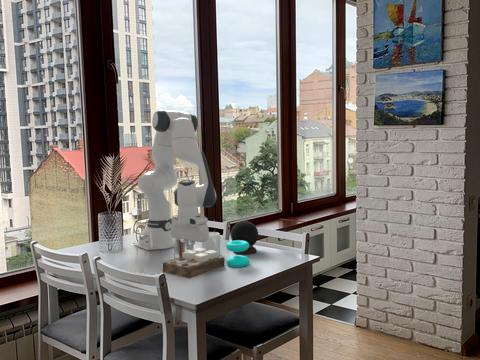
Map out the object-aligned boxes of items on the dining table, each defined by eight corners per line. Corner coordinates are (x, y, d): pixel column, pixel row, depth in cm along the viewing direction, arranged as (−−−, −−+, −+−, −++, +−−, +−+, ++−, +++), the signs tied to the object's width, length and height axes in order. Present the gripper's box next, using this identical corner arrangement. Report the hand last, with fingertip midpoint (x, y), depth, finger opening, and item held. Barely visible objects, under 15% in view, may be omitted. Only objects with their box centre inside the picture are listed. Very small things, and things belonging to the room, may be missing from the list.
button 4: (203, 261, 217) (203, 252, 216) (211, 258, 220) (210, 249, 219) (211, 262, 214) (211, 253, 213) (218, 260, 217) (218, 251, 217)
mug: (225, 258, 229) (224, 236, 228) (207, 260, 227) (207, 238, 226) (217, 252, 241) (216, 231, 240) (200, 254, 238) (199, 233, 237)
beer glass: (181, 261, 227) (180, 228, 225) (169, 259, 231) (168, 227, 229) (191, 257, 233) (189, 225, 231) (179, 255, 237) (178, 224, 235)
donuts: (253, 242, 216) (235, 246, 210) (254, 264, 217) (236, 269, 211) (239, 238, 224) (221, 242, 218) (240, 260, 225) (222, 264, 219)
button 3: (192, 258, 221) (192, 249, 221) (199, 256, 224) (199, 247, 224) (199, 260, 218) (199, 251, 218) (206, 258, 222) (206, 249, 221)
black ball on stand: (263, 253, 237) (262, 221, 235) (236, 256, 232) (235, 224, 230) (252, 247, 249) (251, 217, 247) (227, 250, 244) (226, 219, 243)
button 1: (182, 261, 217) (182, 252, 216) (189, 259, 220) (189, 250, 219) (189, 263, 214) (189, 254, 213) (197, 261, 217) (196, 252, 217)
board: (162, 271, 211) (162, 261, 211) (198, 260, 227) (197, 250, 227) (189, 278, 201) (188, 267, 200) (224, 266, 217) (224, 255, 216)
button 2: (194, 264, 212) (193, 255, 212) (201, 261, 215) (200, 252, 215) (201, 265, 209) (201, 256, 209) (208, 263, 213) (208, 254, 212)
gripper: (166, 217, 219) (168, 248, 221) (199, 221, 206) (201, 254, 207) (177, 214, 224) (178, 245, 225) (210, 219, 211) (211, 251, 212)
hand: (189, 249), depth 216 cm, fingers closed
